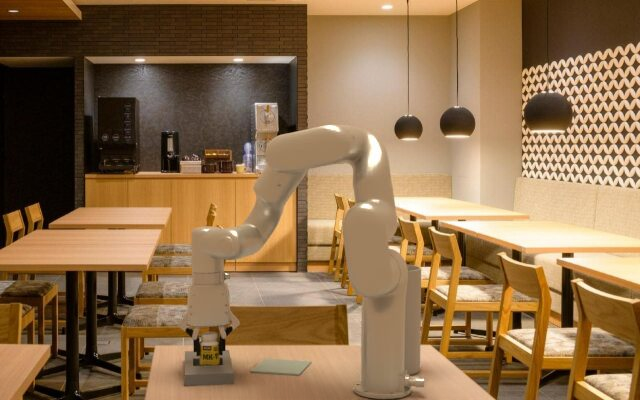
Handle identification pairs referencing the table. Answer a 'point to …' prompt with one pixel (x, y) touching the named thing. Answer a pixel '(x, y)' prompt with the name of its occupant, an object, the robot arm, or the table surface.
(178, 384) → the table surface
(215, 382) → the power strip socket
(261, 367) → the rubber mat
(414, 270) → the cylinder vase
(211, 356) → the supplement bottle
